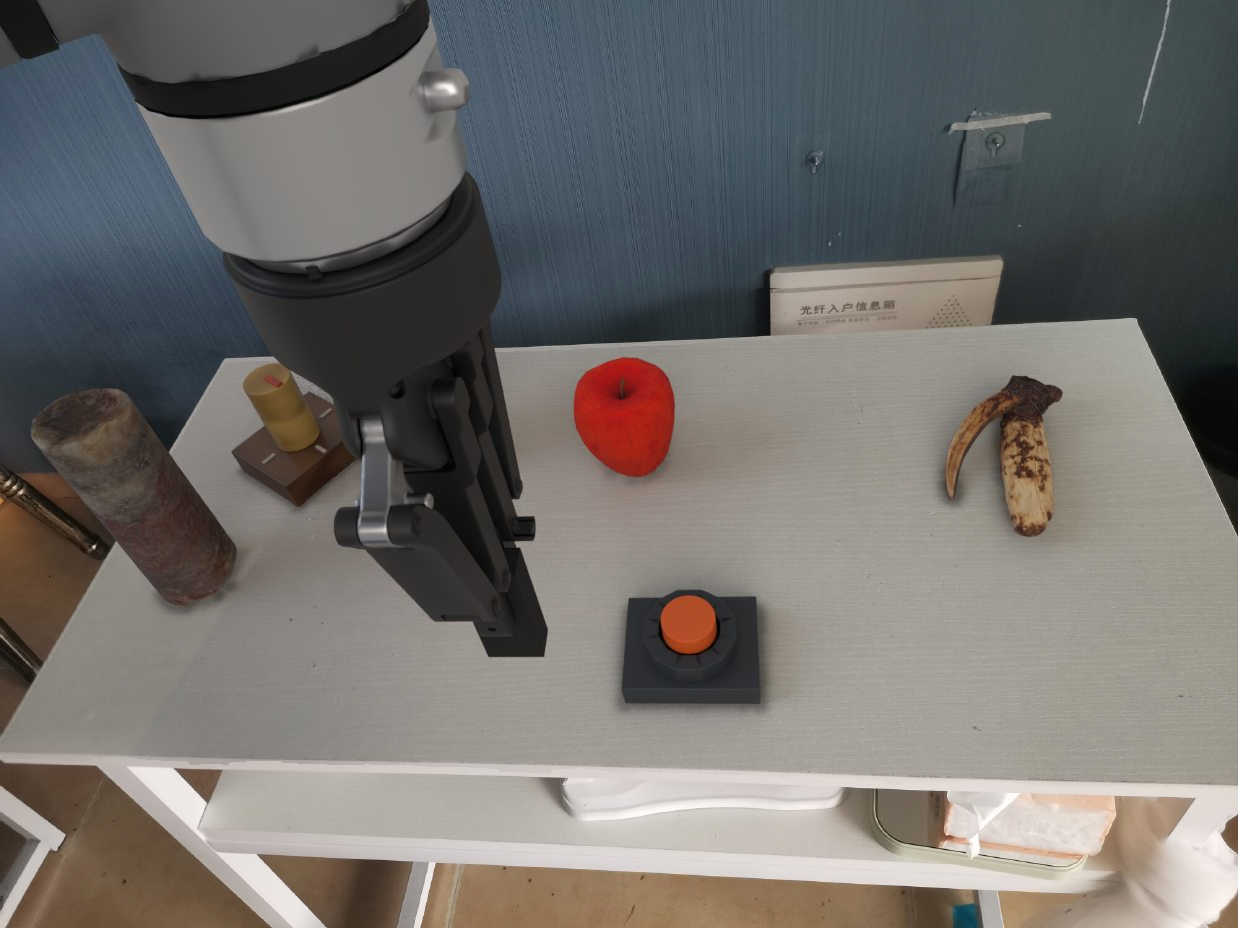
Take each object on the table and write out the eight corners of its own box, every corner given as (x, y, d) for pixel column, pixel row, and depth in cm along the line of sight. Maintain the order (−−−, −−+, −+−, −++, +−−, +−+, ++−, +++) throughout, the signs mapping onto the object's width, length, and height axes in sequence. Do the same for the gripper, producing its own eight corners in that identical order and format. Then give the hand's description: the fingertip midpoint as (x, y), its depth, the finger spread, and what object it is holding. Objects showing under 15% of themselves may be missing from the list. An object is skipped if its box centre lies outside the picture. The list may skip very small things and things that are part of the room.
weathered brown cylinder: (179, 543, 83) (54, 384, 69) (253, 537, 82) (143, 376, 68) (149, 611, 78) (7, 456, 64) (228, 606, 77) (102, 447, 63)
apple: (580, 498, 81) (559, 412, 73) (594, 430, 86) (577, 344, 79) (677, 500, 79) (666, 413, 71) (685, 430, 85) (676, 343, 77)
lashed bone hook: (944, 396, 84) (942, 541, 72) (950, 357, 81) (948, 503, 69) (1052, 401, 82) (1068, 553, 70) (1062, 361, 78) (1080, 514, 66)
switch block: (625, 703, 66) (618, 676, 63) (631, 612, 72) (625, 584, 69) (760, 704, 65) (759, 676, 62) (756, 611, 70) (756, 582, 67)
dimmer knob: (266, 441, 87) (231, 382, 81) (301, 414, 89) (269, 355, 83) (294, 458, 85) (260, 398, 79) (329, 429, 87) (298, 369, 81)
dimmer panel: (298, 507, 84) (285, 485, 82) (243, 471, 89) (229, 450, 86) (375, 442, 89) (365, 419, 87) (319, 411, 94) (308, 389, 91)
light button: (661, 654, 64) (659, 641, 63) (663, 608, 67) (661, 595, 66) (716, 654, 64) (715, 641, 63) (716, 607, 67) (715, 594, 65)
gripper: (421, 342, 20) (582, 777, 37) (509, 87, 29) (607, 533, 46) (121, 359, 21) (411, 774, 38) (294, 107, 30) (468, 536, 47)
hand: (518, 643), depth 42 cm, fingers closed
